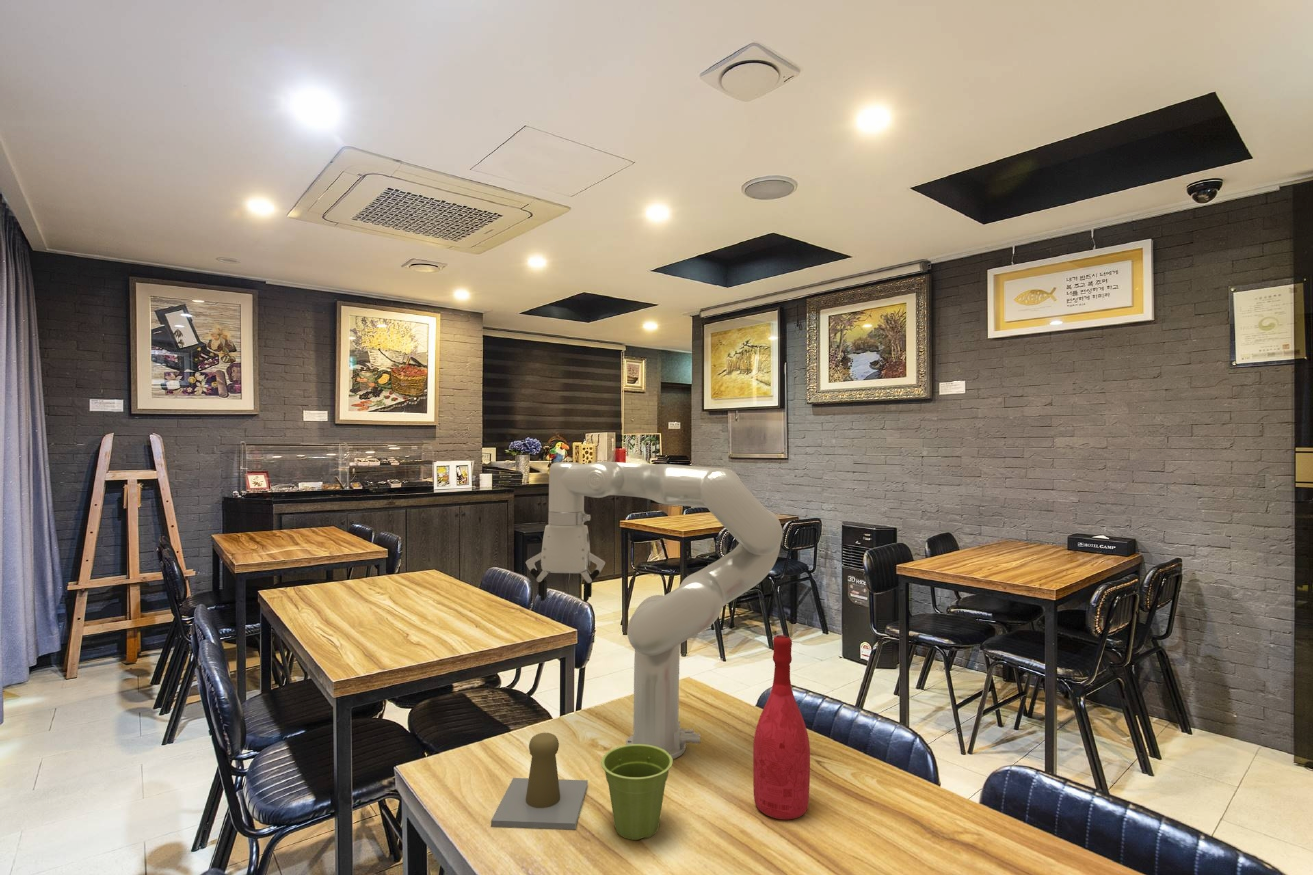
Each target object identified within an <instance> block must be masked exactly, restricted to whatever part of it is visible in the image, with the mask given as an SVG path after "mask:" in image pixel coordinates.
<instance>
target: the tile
mask: <svg viewBox="0 0 1313 875" xmlns="http://www.w3.org/2000/svg"><path fill="white" fill-rule="evenodd" d="M528 780H529V777H526V778H525V777H513V778H512V779H511V781H510V783H509V786H508V787H507V789H506V791H505V793H504V795H503V797H502V799H501V801H500V802H499V804H498V806H497V808H496V810H495V812H494V814H493V816H492V818H491V820H490V828H491V827H493V828H494V827H495V828H518V829H519V828H520V829H521V828H522V829H547V830H549V829H550V830H572V831H573V830H576V827H577V825H578V821H579V818H580V817H579V816H580V814H581V810H582V807H583V803H584V800H585V796H586V793H587V790H588V784H589V783H588V781H589V780H587V779H586V780H585V779H559V778H558V781H559V789H560V801H559V802H558V803H557V804H555V805H553V806H551V807H547V808H535V807H531V806H529V805H528V804H527V803H526V794H527V787H528Z"/></svg>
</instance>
